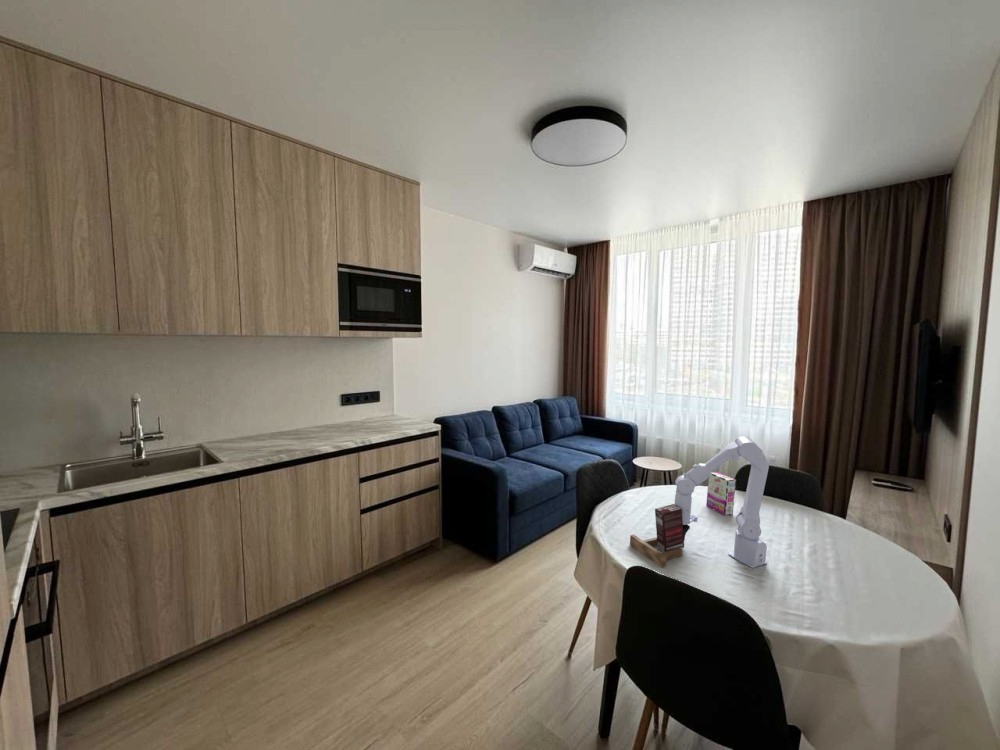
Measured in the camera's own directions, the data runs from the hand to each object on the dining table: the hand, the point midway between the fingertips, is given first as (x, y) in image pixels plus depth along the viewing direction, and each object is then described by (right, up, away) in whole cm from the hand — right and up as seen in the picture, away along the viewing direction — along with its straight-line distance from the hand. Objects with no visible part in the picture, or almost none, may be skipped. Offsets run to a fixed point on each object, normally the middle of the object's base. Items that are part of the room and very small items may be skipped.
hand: (679, 541), depth 156 cm
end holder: (-9, -2, -4) cm, 10 cm away
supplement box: (-4, -2, -2) cm, 5 cm away
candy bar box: (+33, +1, +34) cm, 47 cm away
